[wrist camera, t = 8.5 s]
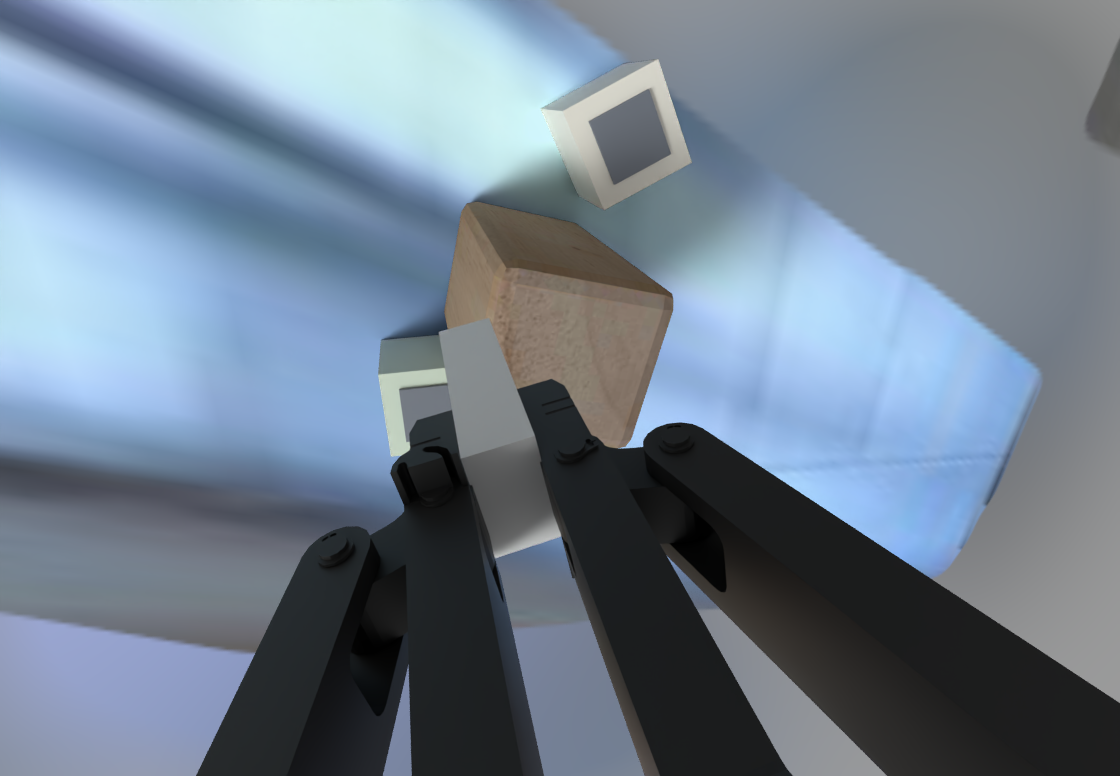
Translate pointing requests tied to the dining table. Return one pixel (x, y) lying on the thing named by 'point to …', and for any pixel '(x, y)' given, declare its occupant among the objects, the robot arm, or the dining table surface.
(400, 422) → the sage labelled cube
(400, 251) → the dining table surface
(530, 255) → the wooden block
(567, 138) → the cream labelled cube
